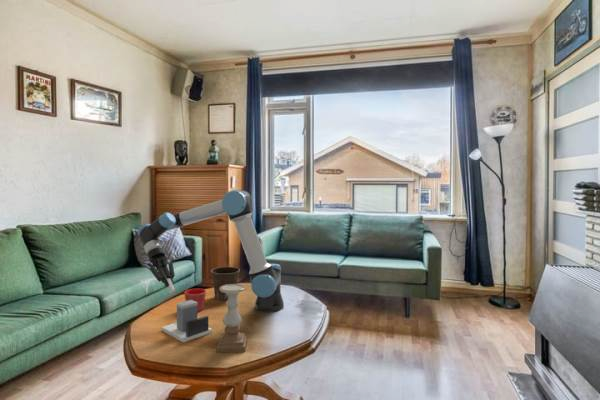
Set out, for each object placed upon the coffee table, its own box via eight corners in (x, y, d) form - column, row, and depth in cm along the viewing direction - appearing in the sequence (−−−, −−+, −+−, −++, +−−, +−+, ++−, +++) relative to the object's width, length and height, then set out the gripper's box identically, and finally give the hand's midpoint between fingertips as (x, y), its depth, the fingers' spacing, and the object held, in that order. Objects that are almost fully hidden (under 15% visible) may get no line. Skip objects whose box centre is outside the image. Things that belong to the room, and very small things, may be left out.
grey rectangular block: (176, 328, 156) (176, 303, 155) (191, 323, 161) (191, 299, 161) (182, 331, 152) (182, 306, 152) (197, 326, 158) (197, 302, 157)
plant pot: (230, 303, 194) (230, 274, 193) (205, 300, 200) (205, 271, 199) (245, 295, 209) (245, 268, 209) (221, 292, 215) (221, 265, 214)
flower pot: (209, 306, 189) (209, 288, 189) (201, 313, 178) (201, 294, 178) (189, 305, 190) (189, 287, 190) (180, 313, 179) (180, 293, 179)
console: (161, 330, 158) (161, 313, 157) (190, 321, 168) (190, 305, 168) (183, 342, 146) (183, 324, 145) (212, 332, 156) (212, 315, 156)
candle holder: (220, 340, 148) (220, 283, 147) (246, 339, 149) (247, 283, 148) (216, 352, 137) (216, 291, 136) (245, 352, 138) (245, 290, 137)
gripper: (164, 254, 182) (182, 292, 171) (139, 258, 172) (156, 299, 161) (169, 245, 178) (188, 283, 167) (143, 248, 168) (161, 290, 158)
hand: (172, 291), depth 164 cm, fingers closed
